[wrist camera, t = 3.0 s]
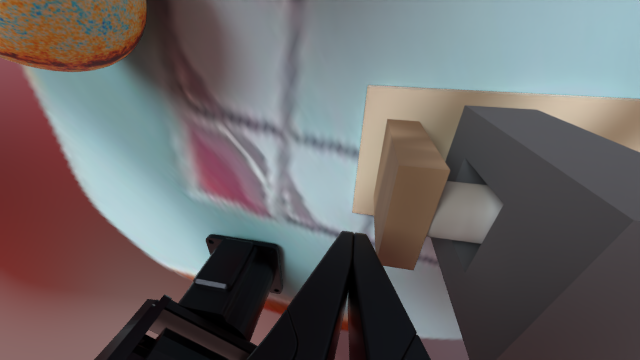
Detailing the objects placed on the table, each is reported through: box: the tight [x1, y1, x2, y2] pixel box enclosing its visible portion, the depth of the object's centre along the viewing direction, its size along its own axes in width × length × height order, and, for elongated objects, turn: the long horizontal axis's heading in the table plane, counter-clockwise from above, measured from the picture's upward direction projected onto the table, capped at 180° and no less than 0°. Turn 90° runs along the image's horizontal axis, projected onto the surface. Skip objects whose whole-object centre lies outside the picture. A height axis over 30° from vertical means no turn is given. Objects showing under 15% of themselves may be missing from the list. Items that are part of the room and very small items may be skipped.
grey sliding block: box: [431, 105, 640, 360], centre depth 9 cm, size 3×7×8 cm, turn 179°
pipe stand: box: [352, 85, 640, 270], centre depth 10 cm, size 22×8×6 cm, turn 89°
